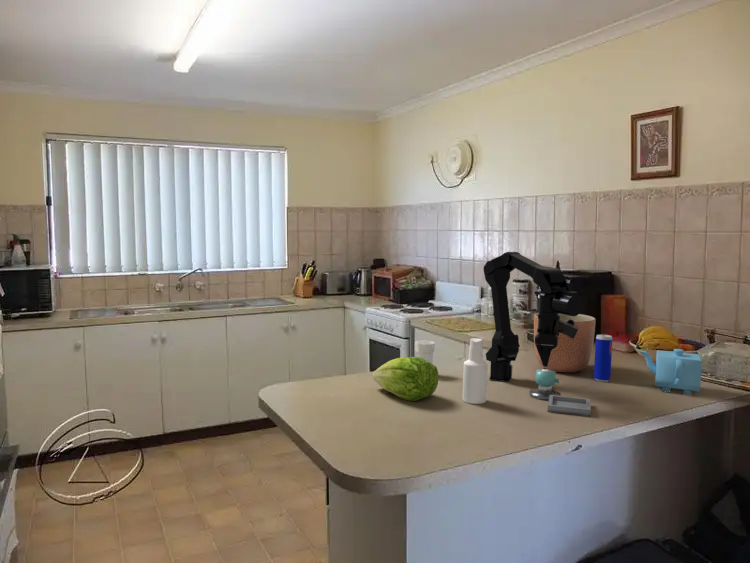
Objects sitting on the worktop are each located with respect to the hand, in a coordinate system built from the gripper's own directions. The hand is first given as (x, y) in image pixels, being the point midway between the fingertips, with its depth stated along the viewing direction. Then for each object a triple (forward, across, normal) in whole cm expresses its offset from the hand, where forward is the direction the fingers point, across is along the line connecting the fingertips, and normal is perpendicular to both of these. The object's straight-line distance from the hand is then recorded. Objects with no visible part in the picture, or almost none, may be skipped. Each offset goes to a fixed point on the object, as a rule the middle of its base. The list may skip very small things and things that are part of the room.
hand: (546, 363), depth 175 cm
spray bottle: (+10, -13, +19) cm, 25 cm away
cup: (+10, +11, +40) cm, 43 cm away
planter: (+10, +38, -4) cm, 40 cm away
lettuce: (+10, -15, +40) cm, 44 cm away
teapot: (+10, +24, -36) cm, 44 cm away
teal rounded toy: (+6, 0, 0) cm, 6 cm away
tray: (+10, -10, -7) cm, 16 cm away
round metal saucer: (+10, 0, 0) cm, 10 cm away
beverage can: (+10, +27, -17) cm, 33 cm away
